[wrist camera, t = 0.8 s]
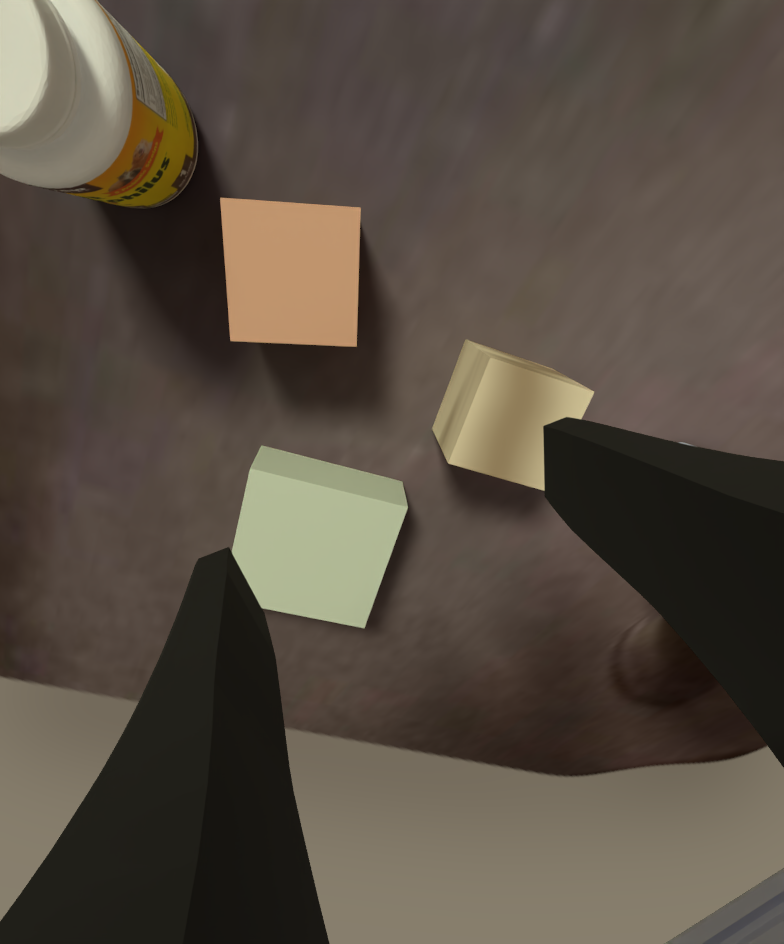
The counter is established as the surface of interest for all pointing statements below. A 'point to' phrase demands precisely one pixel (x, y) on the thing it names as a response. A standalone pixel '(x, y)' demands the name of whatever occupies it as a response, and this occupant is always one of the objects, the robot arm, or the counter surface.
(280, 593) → the sage block
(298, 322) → the terracotta block
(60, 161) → the supplement bottle
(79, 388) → the counter surface
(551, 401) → the beech cube
